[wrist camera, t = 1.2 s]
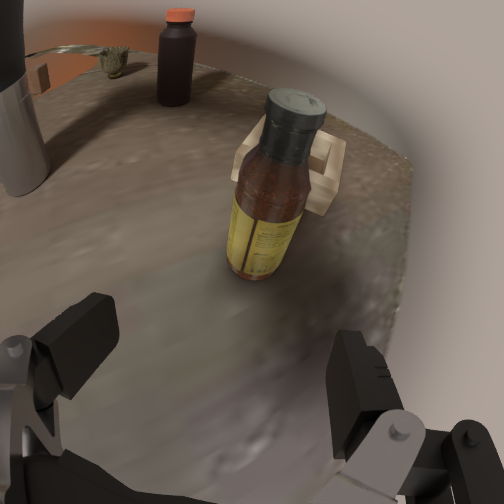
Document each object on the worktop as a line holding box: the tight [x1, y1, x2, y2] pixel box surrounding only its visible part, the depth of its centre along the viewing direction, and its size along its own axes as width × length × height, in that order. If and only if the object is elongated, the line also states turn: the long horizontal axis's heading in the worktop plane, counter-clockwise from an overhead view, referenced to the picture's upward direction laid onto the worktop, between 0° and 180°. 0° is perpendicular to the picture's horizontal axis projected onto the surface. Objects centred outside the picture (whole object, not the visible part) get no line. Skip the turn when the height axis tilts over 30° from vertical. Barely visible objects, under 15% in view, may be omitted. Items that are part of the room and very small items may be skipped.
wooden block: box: [29, 63, 50, 94], centre depth 45 cm, size 4×4×8 cm
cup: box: [99, 46, 129, 79], centre depth 50 cm, size 8×7×8 cm
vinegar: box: [157, 8, 197, 107], centre depth 41 cm, size 7×7×20 cm
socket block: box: [231, 113, 346, 216], centre depth 41 cm, size 14×14×5 cm
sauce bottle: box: [227, 88, 326, 281], centre depth 24 cm, size 6×6×20 cm
